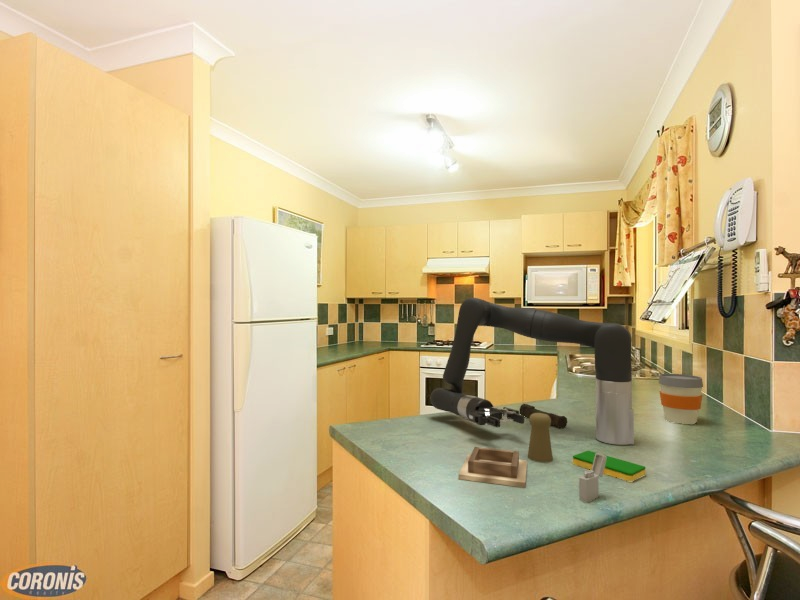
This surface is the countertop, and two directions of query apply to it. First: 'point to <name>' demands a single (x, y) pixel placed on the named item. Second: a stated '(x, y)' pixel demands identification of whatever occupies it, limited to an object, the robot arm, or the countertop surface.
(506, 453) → the shaker stand
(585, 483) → the lighter
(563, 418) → the hand tool
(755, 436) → the countertop surface
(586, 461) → the dish sponge
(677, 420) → the reusable coffee cup
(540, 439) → the cork
